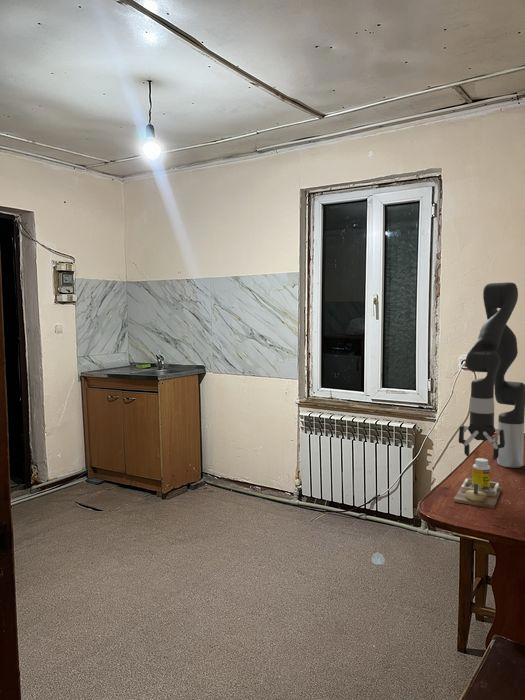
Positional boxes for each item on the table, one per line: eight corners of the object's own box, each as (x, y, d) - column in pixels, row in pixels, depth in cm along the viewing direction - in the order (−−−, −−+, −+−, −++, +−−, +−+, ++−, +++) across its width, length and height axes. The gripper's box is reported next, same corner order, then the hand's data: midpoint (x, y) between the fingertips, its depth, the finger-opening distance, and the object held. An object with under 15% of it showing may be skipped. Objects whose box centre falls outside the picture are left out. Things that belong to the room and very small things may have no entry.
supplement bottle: (483, 493, 174) (484, 463, 173) (468, 488, 178) (469, 459, 177) (493, 489, 177) (494, 460, 176) (478, 485, 181) (479, 456, 181)
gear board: (464, 484, 185) (464, 469, 185) (501, 490, 179) (501, 474, 179) (453, 501, 169) (454, 485, 169) (494, 508, 163) (494, 491, 163)
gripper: (506, 410, 175) (505, 457, 176) (461, 406, 182) (461, 452, 184) (504, 414, 169) (502, 463, 170) (457, 410, 176) (456, 457, 177)
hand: (481, 457), depth 177 cm, fingers open, 8 cm apart
